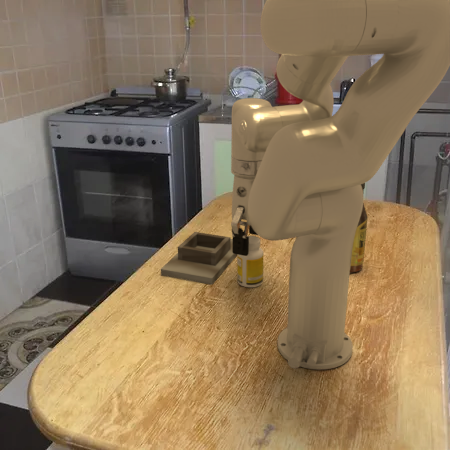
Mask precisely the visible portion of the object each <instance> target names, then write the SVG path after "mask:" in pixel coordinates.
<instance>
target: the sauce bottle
mask: <svg viewBox="0 0 450 450" xmlns="http://www.w3.org/2000/svg"><path fill="white" fill-rule="evenodd" d="M361 186H362V190H363V195H364V194H365V193H364V191H365V188H366V183H363V184H361ZM368 218H369V217H368V215H367V210H366V207H365V203H364V202H363V208H362V213H361V216H360V220H359V223H358V226H357V229H356V233H355V237H354V242H353V248H352V256H351V266H350V273H352V274H353V273H357V272H360V271H361V270H362V268H363V265H364V260H365V259H364V258H365V249H366V241H367V240H366V239H367V230H368V229H367V227H368Z"/></svg>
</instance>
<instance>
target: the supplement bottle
mask: <svg viewBox="0 0 450 450" xmlns="http://www.w3.org/2000/svg"><path fill="white" fill-rule="evenodd" d="M247 237H249V253H248V255H247V256H244V255H238V254H237V256H236V258H237V259H236V260H237V264H236V265H237V266H236V267H237V268H236V269H237V275H236V276H237V278H236V280H237V283H238V284H239V285H240V286H242V287H245V288H256V287H259V286H261V285H262V283H264V250H263V249H262V247H261V237H258V236H257V235H247Z"/></svg>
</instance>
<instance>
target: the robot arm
mask: <svg viewBox="0 0 450 450" xmlns="http://www.w3.org/2000/svg"><path fill="white" fill-rule="evenodd" d="M259 26H260V33H261V37H262V40H263V43H264V44H265V46H266V47H267V48H268V49H269V50H270V51H271V52H274V53H276V54H279V55H280V57H279V58H278V61H277V64H276V67H275V71H276V77H277V79H278V81H279V84H280V85H281V86H282V87H283V89H285V91H286V92H287V93H289V94H290V95H292V96H293V97H296V98H297V99H300V100H302V102H300V103H299V104H288V105H279V106H278V105H276V106H272V104H271V102H270V101H268V100H266V99H262V98H258V97H257V98H256V97H249V98H248V97H247V98H240V99H237V100H236V101H235V102H234V103H233V105H232V107H231V145H230V146H231V150H230V151H231V153H230V154H231V157H230V159H231V160H230V168H231V169H230V170H231V171H230V172H231V174H232V175H234V176H233V182H232V183H233V184H232V186H233V187H232V194H231V195H232V198H231V224H230V226H231V238H232V239H233V248H232V252H233V253H234V254H238V255H244V256H247V255H248V253H249V237H247V236H249V235H248V233H249V234H250V235H253V236H259V238H261V239H264V240H267V241H282V240H283V241H284V240H288V239H294V238H295V240H294V242H293V244H292V247H291V252H290V256H289V257H290V259H289V278H288V302H287V303H288V304H287V305H288V306H287V326H286V327H285V328H284V329H283V330H282V331H281V332H280V333H279V334H278V336H277V337H278V338H277V348H278V352H279V353H280V354H281V356H282V357H283V358H284V359H286V360H287V364H288V366H289V367H290V368H292V369H298V368H299V367H302V368H304V369H309V370H331V369H334V368H338V367H340V366H342V365H344V364H345V363H346V362H348V361H349V360H350V358H351V357H352V355H353V349H354V348H353V347H354V346H353V341H352V339H351V338H350V336H349V335H348V334H347V333H346V332H345V331H346V321H347V320H346V318H347V306H348V295H349V294H348V293H349V283H350V266H351V256H352V248H353V242H354V237H355V233H356V229H357V226H358V223H359V220H360V216H361V213H362V208H363V203H364V194H363V190H362V186H361V184H363V183H365V184H366V183H367V182H369V181H370V180H371V179H373V178H374V177H375V175H376V174H377V173H378V171H379V170H380V168H381V167H382V165H383V164H384V162H385V161H386V159H387V158H388V156H389V154H391V152H392V150H393V148H394V147H395V146H396V144H397V143H398V142H399V140H400V138H401V137H402V136H403V134H404V132H405V130H406V129H407V127H408V125H409V124H410V122H411V121H412V119H413V118H414V117H415V115H416V114H417V113H418V111H420V109H421V108H422V106H423V105H424V104H425V102H427V100H428V99H429V98H430V97H431V95H432V94H433V93H434V92H435V90H436V89H437V87H438V86H439V85H440V83H441V82H442V80H443V79H444V77H445V76H446V74H447V72H448V70H449V68H450V0H265V3H264V5H263V7H262V11H261V15H260V25H259ZM369 55H371V56H372V55H373V56H374V55H382V56H381V58H379V59H378V60H377V61H376V62H375V63H374V64H373V65H372V66H370V67H369V68H368V69H366V70H365V71H364V72H363V73H362V74H361V75H359V77H358V78H357V79H356V80H355V81H354V82H353V84H352V85H351V86H350V88H349V90H348V91H347V93H346V95H345V97H344V100H343V102H342V103H341V104H340V106H339V108H338V109H337V111H336V112H335V113H334V114H333V111H334V102H335V101H334V92H333V88H332V86H331V83H332V81H333V80H334V78H335V77H336V75H337V74H338V72H339V71H340V69H341V68H342V66H343V65H344V63H346V60H347V59H348V58H349V57H351V56H352V57H353V56H369ZM242 220H244V221H242ZM243 226H244V229H243V228H242V227H243Z"/></svg>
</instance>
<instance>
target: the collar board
mask: <svg viewBox="0 0 450 450" xmlns="http://www.w3.org/2000/svg"><path fill="white" fill-rule="evenodd" d="M232 248H233V238H232V236H231V237H230V236H223V235H218V234H211V233H203V232H199V231H194V232H193V233H191V234H190V236H188V237H187V238H186V239H185V240H184V241H182V242H181V244H179V245H178V246H177V253H176V254H175V255H173V257H171V259H169V260H168V262H166V263H165V264H164V265H163V266H162V267H161V268H160V276H164V277H168V278H169V277H170V278H174V279H180V280H184V281H191V282H197V283H202V284H206V285H213V284H214V283H215V282H216V281H217V280H218V279H219V277H220V276H222V274H223V273H224V271H226V269H227V268H228V267H229V266H230V265H231V263H233V261H234V260H235V258H237V254H234V253H233V252H232Z"/></svg>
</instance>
